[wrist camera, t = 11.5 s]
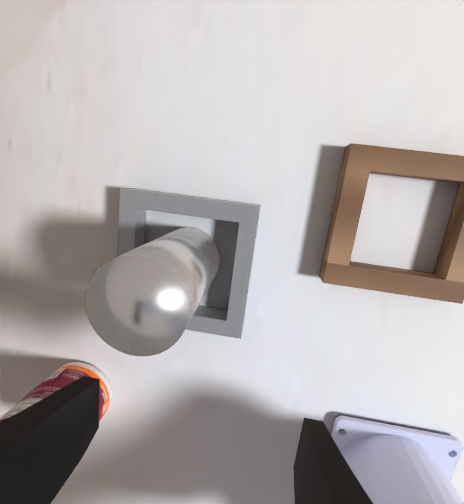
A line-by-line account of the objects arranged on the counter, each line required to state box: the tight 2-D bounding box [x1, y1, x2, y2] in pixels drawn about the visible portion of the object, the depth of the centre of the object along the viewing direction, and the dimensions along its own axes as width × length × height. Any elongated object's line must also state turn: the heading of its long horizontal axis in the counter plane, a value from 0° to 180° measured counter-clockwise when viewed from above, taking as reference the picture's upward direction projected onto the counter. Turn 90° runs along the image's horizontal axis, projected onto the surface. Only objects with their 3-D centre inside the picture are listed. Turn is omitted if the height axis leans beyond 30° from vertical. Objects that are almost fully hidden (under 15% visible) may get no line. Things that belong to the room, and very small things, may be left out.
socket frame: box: [319, 144, 464, 304], centre depth 16 cm, size 8×8×1 cm
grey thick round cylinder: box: [85, 227, 220, 356], centre depth 15 cm, size 4×4×8 cm
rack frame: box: [117, 188, 260, 339], centre depth 18 cm, size 8×8×2 cm
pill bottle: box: [0, 362, 112, 422], centre depth 18 cm, size 5×5×8 cm
